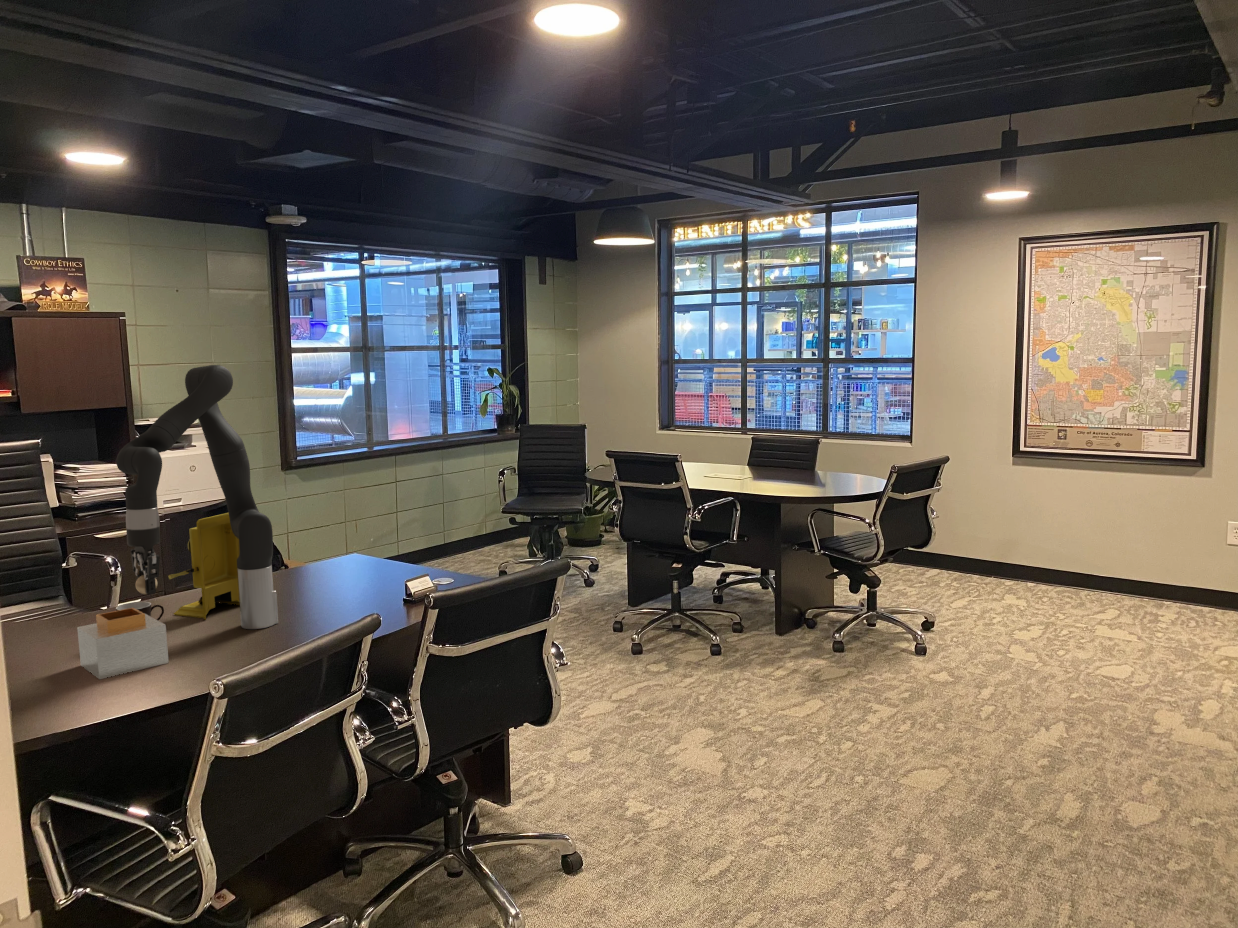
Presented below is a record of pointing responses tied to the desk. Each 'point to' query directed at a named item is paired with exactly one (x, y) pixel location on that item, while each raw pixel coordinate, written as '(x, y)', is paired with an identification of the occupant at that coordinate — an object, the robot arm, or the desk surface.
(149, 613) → the coffee mug
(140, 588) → the wooden ball
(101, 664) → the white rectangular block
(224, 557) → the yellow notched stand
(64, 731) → the desk surface
